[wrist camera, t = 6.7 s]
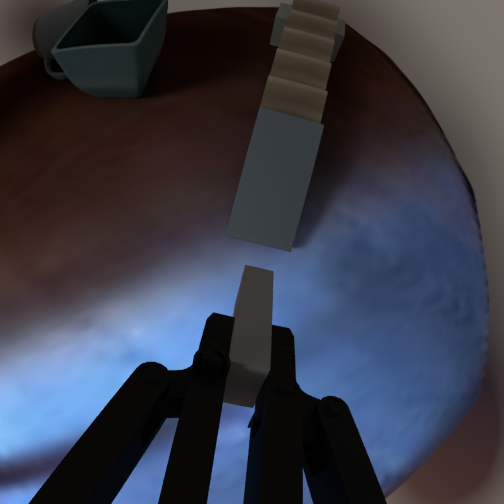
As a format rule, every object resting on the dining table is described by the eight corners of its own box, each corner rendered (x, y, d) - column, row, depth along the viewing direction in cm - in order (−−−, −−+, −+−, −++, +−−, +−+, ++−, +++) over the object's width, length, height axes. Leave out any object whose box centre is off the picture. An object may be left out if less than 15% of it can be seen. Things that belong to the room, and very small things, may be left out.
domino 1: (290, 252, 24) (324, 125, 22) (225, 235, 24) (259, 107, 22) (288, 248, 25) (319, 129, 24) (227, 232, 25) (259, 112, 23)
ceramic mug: (53, 43, 30) (38, 5, 23) (106, 26, 31) (95, -16, 24) (39, 91, 28) (16, 50, 20) (99, 71, 29) (83, 23, 22)
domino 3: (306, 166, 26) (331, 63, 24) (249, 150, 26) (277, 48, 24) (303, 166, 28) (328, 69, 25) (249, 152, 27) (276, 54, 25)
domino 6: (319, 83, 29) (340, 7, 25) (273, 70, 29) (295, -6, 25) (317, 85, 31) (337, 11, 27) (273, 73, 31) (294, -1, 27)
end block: (333, 62, 32) (344, 36, 28) (269, 44, 32) (275, 16, 28) (335, 45, 34) (345, 20, 29) (275, 29, 33) (281, 3, 29)
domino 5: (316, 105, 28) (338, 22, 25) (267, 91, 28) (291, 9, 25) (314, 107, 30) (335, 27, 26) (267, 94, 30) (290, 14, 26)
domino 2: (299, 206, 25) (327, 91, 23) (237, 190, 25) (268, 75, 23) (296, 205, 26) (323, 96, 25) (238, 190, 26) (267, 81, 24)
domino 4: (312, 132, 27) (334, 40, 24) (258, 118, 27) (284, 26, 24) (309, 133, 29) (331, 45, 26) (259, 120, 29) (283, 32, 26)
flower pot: (174, 57, 30) (170, -5, 21) (152, 113, 28) (138, 44, 19) (106, 58, 29) (90, 1, 21) (77, 112, 27) (48, 53, 18)
